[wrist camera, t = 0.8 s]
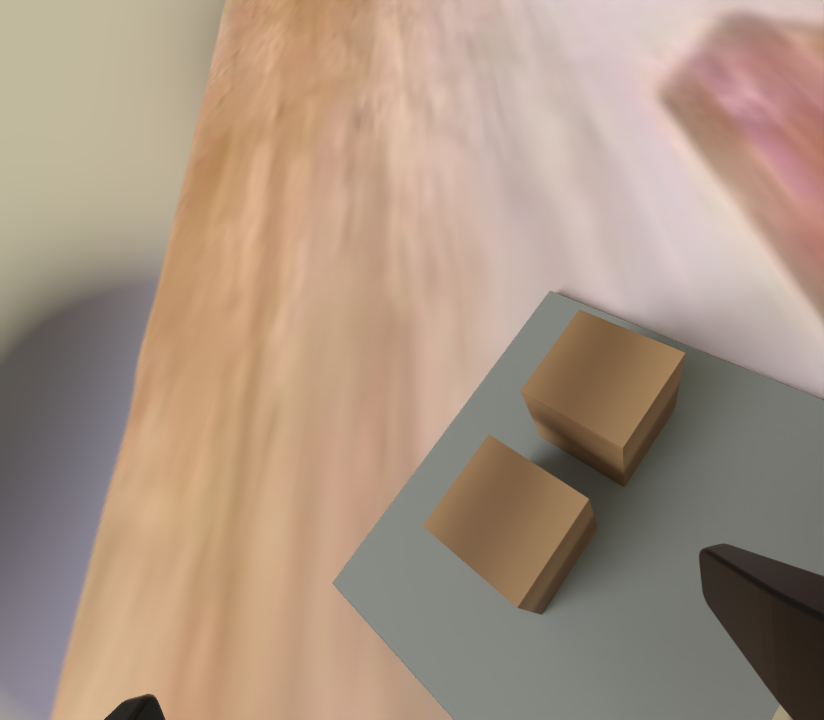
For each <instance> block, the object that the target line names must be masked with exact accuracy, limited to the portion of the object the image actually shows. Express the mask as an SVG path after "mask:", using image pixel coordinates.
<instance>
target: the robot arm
mask: <svg viewBox="0 0 824 720" xmlns="http://www.w3.org/2000/svg"><path fill="white" fill-rule="evenodd" d="M699 564H700V574H701V584H702V592H703V596H704V598H705V601H706V603H707V605H708V606H709V608H710V609H711V611H712V612H713V614H714V615H715V616H716V618H717V619H718V620H719V622H720V623H721V625H722V626H723V627H724V629H725V630H726V632H727V633H728V634H729V636H730V637H731V638H732V640H733V641H734V643H735V644H736V645H737V647H738V648H739V650H740V651H741V652H742V654H743V655H744V656H745V658H746V659H747V661H748V662H749V663H750V665H751V666H752V668H753V669H754V670H755V672H756V673H757V674H758V676H759V677H760V679H761V680H762V681H763V683H764V684H765V686H766V687H767V688H768V689H769V691H770V692H771V693H772V695H773V696H774V697H775V699H776V700H777V701H778V703H779V704H780V705H781V706H782V707H783V709H784V710H785V711H786V712H787V713H788V715H789V716H790V717H791V718H792V719H793V720H824V576H823V575H820V574H817V573H814V572H811V571H808V570H805V569H802V568H799V567H796V566H793V565H790V564H787V563H784V562H781V561H778V560H775V559H772V558H769V557H766V556H763V555H760V554H757V553H754V552H751V551H748V550H745V549H742V548H739V547H736V546H733V545H730V544H725V543H722V544H717V545H714V546H710V547H706V548H703V549H702V550H701V551H700V553H699ZM104 720H165V717H164V715H163V712H162V710H161V707H160V705H159V703H158V700H157V698H156V697H155V696H154V695H152V694H146V695H142V696H138V697H135V698H131V699H128V700H125V701H124V702H122V703H121V704H120V705H119V706H118V707H117V708H116V709H115V710H114V711H113V712H112V713H111V714H109V715H108V716H107V717H106V718H105V719H104Z"/></svg>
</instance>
